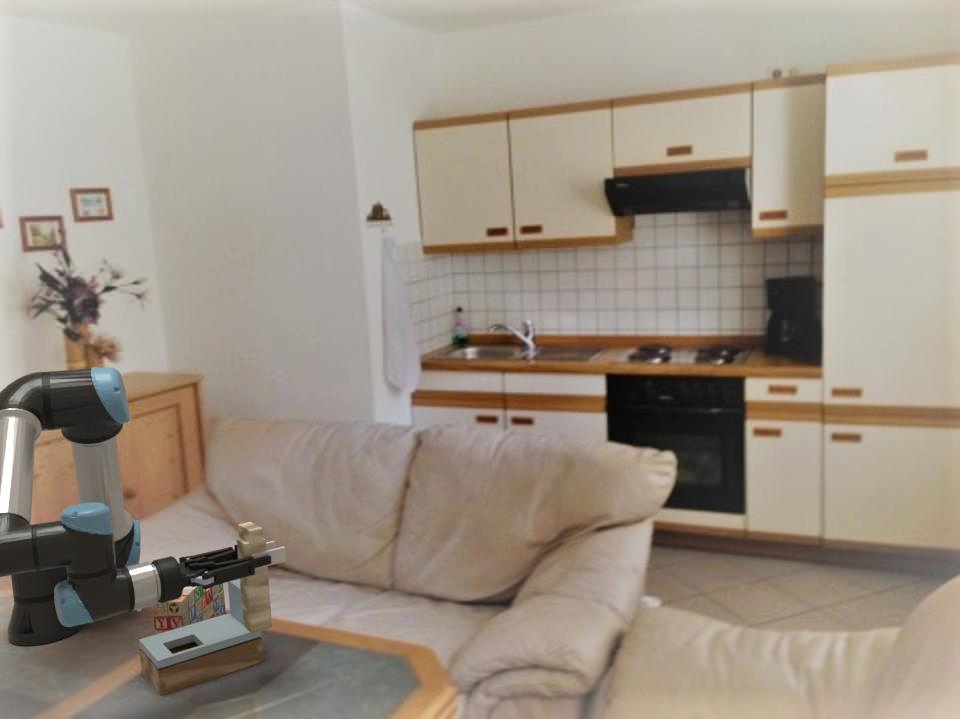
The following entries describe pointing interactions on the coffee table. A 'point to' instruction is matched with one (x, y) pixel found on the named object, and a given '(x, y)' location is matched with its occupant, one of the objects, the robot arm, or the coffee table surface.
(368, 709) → the coffee table surface
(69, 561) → the robot arm
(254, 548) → the key
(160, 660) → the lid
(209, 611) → the stack of blocks
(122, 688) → the coffee table surface
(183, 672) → the wooden box
